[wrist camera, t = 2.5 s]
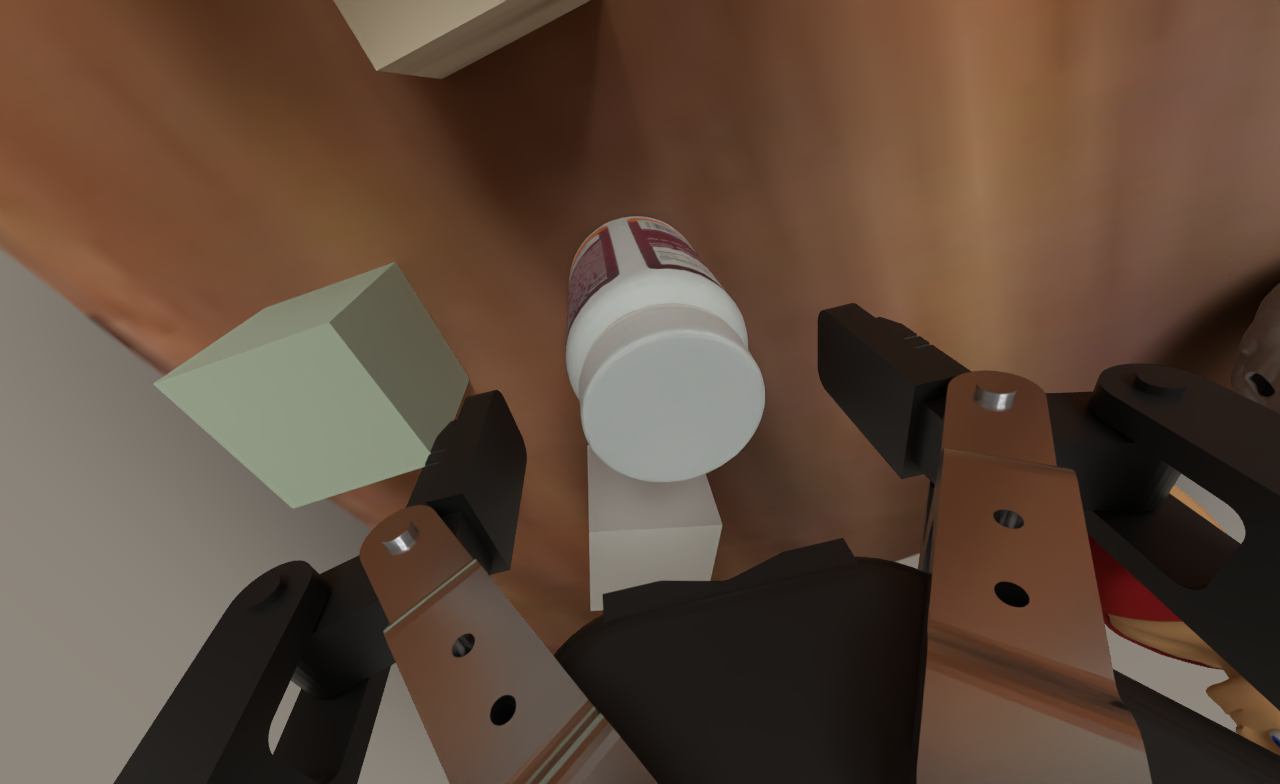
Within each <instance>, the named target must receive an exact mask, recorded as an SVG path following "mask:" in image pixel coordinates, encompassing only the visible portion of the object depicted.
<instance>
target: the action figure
mask: <svg viewBox="0 0 1280 784" xmlns="http://www.w3.org/2000/svg"><path fill="white" fill-rule="evenodd" d="M1169 493H1170V494H1171V495H1173V496H1174V497H1176V498H1177V499H1178V500H1180V501H1181V502H1183V503H1184V504H1185V505H1187V506H1188V507H1190V508H1191V509H1192V510H1194V511H1195V512H1197V513H1198V514H1199V515H1201V516H1202V517H1204V518H1205V519H1206V520H1208V521H1209V522H1211V523H1212V524H1213V525H1215V526H1216V527H1218V528H1219V529H1220V530H1222V531H1223V529H1222V528H1221V527H1220V526H1219V525H1218V523H1217V522H1216V521H1215V520H1214V519H1213V518H1212V517H1211V515H1210V514H1209V513H1208V512H1207V511H1206V510H1205V509H1204V508H1203V507H1201V506H1200V505H1199V504H1198V503H1197V502H1195V501H1194V500H1193V499H1192V498H1191V497H1189V496H1188V495H1187V494H1186V493H1184V492H1183V491H1182V490H1181V489H1179V488H1178V487H1177V486H1175V485H1174V486H1173V488H1172V489H1171V491H1170V492H1169ZM1223 532H1224V531H1223ZM1088 539H1089V544H1090V550H1091V555H1092V560H1093V566H1094V571H1095V576H1096V582H1097V587H1098V592H1099V598H1100V603H1101V609H1102V614H1103V619H1104V623H1105V624H1106V625H1107V626H1108V628H1109V629H1111V630H1112V631H1114V632H1115V633H1116V634H1118V635H1119V636H1121V637H1123V638H1125V639H1127V640H1129V641H1131V642H1133V643H1136V644H1138V645H1140V646H1142V647H1144V648H1147V649H1149V650H1152V651H1154V652H1156V653H1159V654H1161V655H1164V656H1167V657H1171V658H1174V659H1178V660H1181V661H1184V662H1188V663H1192V664H1196V665H1200V666H1204V667H1208V668H1215V669H1221V670H1224V671H1225V673H1226V674H1227V676H1228V677H1229V679H1228V680H1226V681H1224V682H1222V683H1218V684H1214V685H1212V686H1209V687H1208V688H1207V690H1206V692H1207V694H1208V696H1209V697H1210V698H1211V699H1212V700H1213V701H1214V702H1216V703H1217V704H1218V705H1219V706H1220V707H1221V708H1222V709H1223V710H1224V712H1225V713H1226V714H1228V715H1230V717H1231V718H1232V719H1233V720H1234V721H1235V723H1236V724H1237V727H1236V732H1237V733H1238V734H1239V735H1241V736H1243V737H1245V738H1247V739H1249V740H1251V741H1252V742H1254V743H1256V744H1258V745H1260V746H1262V747H1264V748H1266V749H1268V750H1270V751H1272V752H1274V753H1276V754H1277V755H1279V756H1280V711H1279V710H1278V709H1277V708H1276V707H1275V706H1274V705H1272V704H1271V703H1270V702H1269V701H1268V700H1267V699H1266V698H1265V697H1264V696H1263V695H1262V694H1261V693H1259V692H1258V691H1257V690H1256V689H1255V688H1254V687H1253V686H1252V685H1251V684H1250V683H1249V682H1248V681H1246V680H1245V679H1244V678H1243V677H1242V676H1241V675H1240V674H1239V673H1238V672H1237V671H1236V670H1235V669H1233V668H1232V667H1231V666H1230V665H1229V664H1228V663H1227V662H1226V661H1225V660H1224V659H1223V658H1222V657H1220V656H1219V655H1218V654H1217V653H1216V652H1215V651H1214V650H1213V649H1212V648H1211V647H1210V646H1209V645H1208V644H1206V643H1205V642H1204V641H1203V640H1202V639H1201V638H1200V637H1199V636H1198V635H1197V634H1196V633H1195V632H1193V631H1192V630H1191V629H1190V628H1189V627H1188V626H1187V625H1186V624H1185V623H1184V622H1183V621H1182V620H1180V619H1179V618H1178V617H1177V616H1176V615H1175V614H1174V613H1173V612H1172V611H1171V610H1170V609H1169V608H1167V607H1166V606H1165V605H1164V604H1163V603H1162V602H1161V601H1160V600H1159V599H1158V598H1157V597H1156V596H1154V595H1153V594H1152V593H1151V592H1150V591H1149V590H1148V589H1147V588H1146V587H1145V586H1144V585H1143V584H1141V583H1140V582H1139V581H1138V580H1137V579H1136V578H1135V577H1134V576H1133V575H1132V574H1131V573H1130V572H1128V571H1127V570H1126V569H1125V568H1124V567H1123V566H1122V565H1121V564H1120V563H1119V562H1118V561H1117V560H1115V559H1114V558H1113V557H1112V556H1111V555H1110V554H1109V553H1108V552H1107V551H1106V550H1105V549H1104V548H1102V547H1101V546H1100V545H1099V544H1098V543H1097V542H1096V541H1095V540H1094V539H1093V538H1092V537H1091V536H1089V535H1088Z"/></svg>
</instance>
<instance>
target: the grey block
mask: <svg viewBox="0 0 1280 784" xmlns="http://www.w3.org/2000/svg"><path fill="white" fill-rule="evenodd" d="M587 452H588V504H589V556H590V606H591V611H599V610H603V594H605V593H609V592H614V591H618V590H622V589H626V588H631V587H635V586H639V585H644V584H648V583H652V582H657V581H661V580H666V581H710V580H711V576H712V571H713V566H714V562H715V557H716V553H717V548H718V543H719V539H720V534H721V530H722V522H721V519H720V516H719V513H718V510H717V507H716V504H715V501H714V497H713V494H712V491H711V488H710V485H709V482H708V479H707V476H706V474H703V475H700V476H698V477H695V478H691V479H688V480H683V481H676V482H648V481H642V480H638V479H634V478H631V477H628V476H625V475H623V474H621V473H619V472H617V471H615V470H613V469H612V468H610V467H609V466H608V465H606V464H605V463H604V462H603V461H602V460H601V459H600V458H599V457H598V456H597V455H596V454H595V453H594V451H593V450H592V449H591V447H590V445H587Z"/></svg>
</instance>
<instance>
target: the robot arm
mask: <svg viewBox="0 0 1280 784" xmlns="http://www.w3.org/2000/svg"><path fill="white" fill-rule="evenodd" d="M818 373H819V377H820V380H821V383H822V385H823V387H824V389H825V390H826V391H827V392H828V394H829V395H830V396H831V397H832V398H833V399H834V401H835V402H836V403H837V404H838V405H839V406H840V408H841V409H842V410H843V411H844V412H845V413H846V415H847V416H848V417H849V418H850V419H851V421H852V422H853V423H854V424H855V425H856V426H857V428H858V429H859V430H860V431H861V432H862V433H863V435H864V436H865V437H866V438H867V439H868V440H869V442H870V443H871V444H872V445H873V446H874V447H875V449H876V450H877V451H878V452H879V453H880V454H881V456H882V457H883V458H884V459H885V460H886V462H887V463H888V464H889V465H890V466H891V467H892V469H893V470H894V471H895V472H896V473H897V474H898V476H899V477H900V478H901V479H904V478H909V477H913V476H917V475H921V474H925V475H926V476H927V477H928V478H929V480H930V482H929V487H928V492H927V500H926V508H925V517H924V525H923V533H922V541H921V550H920V558H919V565H918V569H915V568H913V567H910V566H906V565H903V564H900V563H897V562H892V561H888V560H883V559H878V558H868V557H854V555H853V554H852V552H851V550H850V549H849V547H848V545H847V544H846V542H845V540H844V539H843V538H841V539H837V540H833V541H828V542H824V543H820V544H815V545H811V546H807V547H802V548H798V549H794V550H790V551H785V552H782V553H780V554H778V555H776V556H775V557H773V558H771V559H769V560H767V561H765V562H763V563H761V564H759V565H757V566H755V567H753V568H751V569H749V570H747V571H745V572H743V573H741V574H739V575H737V576H736V577H734V578H731V579H729V580H725V581H666V580H661V581H657V582H652V583H648V584H644V585H639V586H635V587H631V588H626V589H622V590H618V591H614V592H609V593H605V594H603V615H601V616H599V617H597V618H595V619H594V620H592V621H591V622H589V623H588V624H586V625H585V626H583V627H582V628H581V629H580V630H578V631H577V632H576V633H575V634H573V635H572V636H571V637H570V638H569V639H568V640H567V641H566V642H565V643H564V644H563V645H562V646H561V647H560V648H559V649H558V650H557V652H556V653H555V654H554V655H552V654H551V652H550V651H549V650H548V649H547V647H546V646H545V645H544V644H543V642H542V641H541V640H540V639H539V637H538V636H537V635H536V634H535V632H534V631H533V630H532V629H531V627H530V626H529V625H528V624H527V622H526V621H525V620H524V619H523V617H522V616H521V615H520V614H519V612H518V611H517V610H516V609H515V607H514V606H513V605H512V604H511V602H510V601H509V600H508V599H507V597H506V596H505V595H504V594H503V592H502V591H501V590H500V589H499V587H498V586H497V585H496V584H495V582H494V581H493V580H492V579H491V577H490V575H491V574H495V573H499V572H503V571H507V570H510V567H511V560H512V554H513V547H514V540H515V534H516V527H517V521H518V514H519V508H520V501H521V495H522V488H523V482H524V475H525V469H526V462H527V454H526V448H525V444H524V440H523V438H522V435H521V433H520V431H519V429H518V427H517V425H516V423H515V420H514V418H513V416H512V414H511V412H510V410H509V408H508V405H507V403H506V401H505V399H504V397H503V395H502V394H501V392H500V391H498V390H494V391H490V392H486V393H482V394H478V395H473V396H469V397H467V398H466V399H465V401H464V404H463V407H462V409H461V412H460V414H459V417H458V419H457V420H454V421H451V422H450V423H449V424H448V425H447V426H446V427H445V428H444V429H443V430H442V431H441V432H440V434H439V435H438V436H437V437H436V440H435V442H434V444H433V446H432V449H431V451H430V452H431V454H430V455H429V456H428V458H427V460H426V463H425V467H423V469H422V472H421V474H420V476H419V479H418V481H417V483H416V485H415V488H414V490H413V492H412V495H411V497H410V499H409V502H408V504H407V506H406V508H404V509H402V510H399V511H397V512H395V513H394V514H392V515H390V516H389V517H387V518H386V519H384V520H383V521H382V522H380V523H379V524H378V525H377V526H376V527H375V528H374V529H373V530H372V531H371V532H370V533H369V535H368V536H367V537H366V539H365V541H364V542H363V544H362V546H361V549H360V555H359V556H357V557H355V558H353V559H351V560H349V561H347V562H344V563H342V564H340V565H338V566H336V567H334V568H332V569H330V570H328V571H326V572H324V573H322V574H319V573H318V572H317V571H316V570H314V569H313V568H312V567H311V566H310V565H309V564H308V563H307V562H305V561H291V562H287V563H285V564H281V565H279V566H277V567H275V568H273V569H271V570H269V571H267V572H266V573H264V574H262V575H261V576H259V577H258V578H257V579H255V580H254V581H253V582H251V583H250V584H249V585H248V586H247V587H246V588H244V590H242V591H241V592H240V593H239V594H238V595H237V597H236V598H235V599H234V600H233V601H232V603H231V604H230V605H229V607H228V608H227V610H226V611H225V613H224V614H223V616H222V617H221V619H220V620H219V622H218V624H217V625H216V627H215V628H214V630H213V631H212V633H211V634H210V636H209V637H208V639H207V640H206V642H205V644H204V645H203V647H202V648H201V650H200V651H199V653H198V654H197V656H196V658H195V659H194V660H193V662H192V664H191V665H190V667H189V668H188V670H187V671H186V673H185V674H184V676H183V678H182V679H181V681H180V682H179V684H178V685H177V687H176V688H175V690H174V691H173V693H172V695H171V696H170V697H169V699H168V700H167V702H166V704H165V705H164V707H163V708H162V710H161V711H160V713H159V714H158V716H157V717H156V719H155V720H154V722H153V724H152V725H151V727H150V728H149V730H148V731H147V733H146V734H145V736H144V737H143V739H142V740H141V742H140V744H139V745H138V747H137V748H136V750H135V752H134V753H133V754H132V756H131V757H130V759H129V761H128V762H127V764H126V765H125V767H124V768H123V770H122V772H121V773H120V774H119V776H118V777H117V779H116V781H115V782H114V784H357V782H358V779H359V775H360V772H361V768H362V765H363V762H364V758H365V755H366V751H367V747H368V744H369V740H370V737H371V734H372V730H373V727H374V723H375V719H376V716H377V713H378V709H379V706H380V702H381V698H382V695H383V692H384V688H385V684H386V681H387V678H388V674H389V671H390V667H391V665H392V664H394V663H396V664H397V666H398V668H399V670H400V673H401V675H402V677H403V679H404V682H405V684H406V686H407V688H408V691H409V693H410V695H411V697H412V700H413V702H414V704H415V706H416V709H417V711H418V713H419V715H420V718H421V720H422V722H423V724H424V727H425V729H426V731H427V734H428V736H429V738H430V740H431V742H432V744H433V747H434V749H435V751H436V754H437V756H438V758H439V760H440V763H441V765H442V767H443V769H444V772H445V774H446V776H447V778H448V780H449V783H450V784H1280V756H1279V755H1277V754H1276V753H1274V752H1272V751H1270V750H1268V749H1266V748H1264V747H1262V746H1260V745H1258V744H1256V743H1254V742H1252V741H1251V740H1249V739H1247V738H1245V737H1243V736H1241V735H1239V734H1237V733H1235V732H1233V731H1231V730H1229V729H1227V728H1226V727H1223V726H1222V725H1220V724H1218V723H1216V722H1214V721H1212V720H1210V719H1208V718H1206V717H1204V716H1202V715H1200V714H1199V713H1197V712H1195V711H1193V710H1191V709H1189V708H1187V707H1185V706H1183V705H1181V704H1179V703H1177V702H1175V701H1174V700H1172V699H1170V698H1168V697H1166V696H1164V695H1162V694H1160V693H1158V692H1156V691H1154V690H1152V689H1150V688H1148V687H1147V686H1145V685H1143V684H1141V683H1139V682H1137V681H1135V680H1133V679H1131V678H1129V677H1127V676H1125V675H1123V674H1122V673H1120V672H1118V671H1116V670H1114V669H1113V667H1112V663H1111V657H1110V652H1109V646H1108V641H1107V635H1106V630H1105V625H1104V619H1103V614H1102V609H1101V603H1100V598H1099V592H1098V587H1097V582H1096V576H1095V571H1094V566H1093V560H1092V555H1091V550H1090V544H1089V539H1088V535H1089V536H1091V537H1092V538H1093V539H1094V540H1095V541H1096V542H1097V543H1098V544H1099V545H1100V546H1101V547H1102V548H1104V549H1105V550H1106V551H1107V552H1108V553H1109V554H1110V555H1111V556H1112V557H1113V558H1114V559H1115V560H1117V561H1118V562H1119V563H1120V564H1121V565H1122V566H1123V567H1124V568H1125V569H1126V570H1127V571H1128V572H1130V573H1131V574H1132V575H1133V576H1134V577H1135V578H1136V579H1137V580H1138V581H1139V582H1140V583H1141V584H1143V585H1144V586H1145V587H1146V588H1147V589H1148V590H1149V591H1150V592H1151V593H1152V594H1153V595H1154V596H1156V597H1157V598H1158V599H1159V600H1160V601H1161V602H1162V603H1163V604H1164V605H1165V606H1166V607H1167V608H1169V609H1170V610H1171V611H1172V612H1173V613H1174V614H1175V615H1176V616H1177V617H1178V618H1179V619H1180V620H1182V621H1183V622H1184V623H1185V624H1186V625H1187V626H1188V627H1189V628H1190V629H1191V630H1192V631H1193V632H1195V633H1196V634H1197V635H1198V636H1199V637H1200V638H1201V639H1202V640H1203V641H1204V642H1205V643H1206V644H1208V645H1209V646H1210V647H1211V648H1212V649H1213V650H1214V651H1215V652H1216V653H1217V654H1218V655H1219V656H1220V657H1222V658H1223V659H1224V660H1225V661H1226V662H1227V663H1228V664H1229V665H1230V666H1231V667H1232V668H1233V669H1235V670H1236V671H1237V672H1238V673H1239V674H1240V675H1241V676H1242V677H1243V678H1244V679H1245V680H1246V681H1248V682H1249V683H1250V684H1251V685H1252V686H1253V687H1254V688H1255V689H1256V690H1257V691H1258V692H1259V693H1261V694H1262V695H1263V696H1264V697H1265V698H1266V699H1267V700H1268V701H1269V702H1270V703H1271V704H1272V705H1274V706H1275V707H1276V708H1277V709H1278V710H1279V711H1280V414H1279V413H1277V412H1275V411H1273V410H1271V409H1269V408H1267V407H1265V406H1263V405H1261V404H1258V403H1256V402H1254V401H1252V400H1250V399H1248V398H1246V397H1244V396H1242V395H1240V394H1237V393H1235V392H1233V391H1231V390H1229V389H1227V388H1225V387H1223V386H1221V385H1219V384H1216V383H1214V382H1212V381H1210V380H1208V379H1206V378H1204V377H1201V376H1199V375H1197V374H1194V373H1191V372H1188V371H1185V370H1181V369H1177V368H1173V367H1168V366H1161V365H1153V364H1124V365H1118V366H1114V367H1111V368H1108V369H1106V370H1104V371H1103V372H1102V373H1101V374H1100V376H1099V378H1098V381H1097V383H1096V386H1095V388H1094V390H1093V392H1073V393H1045V392H1044V391H1043V390H1042V389H1041V388H1040V387H1039V386H1038V385H1036V384H1035V383H1033V382H1032V381H1030V380H1028V379H1025V378H1023V377H1020V376H1017V375H1014V374H1010V373H1005V372H998V371H973V372H971V371H970V370H968V369H967V368H965V367H964V366H962V365H961V364H959V363H958V362H957V361H955V360H954V359H952V358H951V357H949V356H948V355H946V354H945V353H943V352H942V351H941V350H939V349H938V348H936V347H935V346H933V345H929V342H927V341H926V340H924V339H923V338H922V337H920V336H919V337H917V334H916V333H914V332H913V331H911V330H910V329H908V328H907V327H906V326H904V325H903V324H901V323H897V322H894V321H891V320H888V319H885V318H882V317H878V318H875V317H873V316H872V315H871V314H869V313H868V312H867V311H865V310H864V309H862V308H861V307H860V306H858V305H857V304H855V303H850V304H846V305H842V306H838V307H834V308H830V309H826V310H822V311H821V312H820V313H819V316H818ZM1181 473H1182V474H1183V475H1185V476H1186V477H1188V478H1189V479H1191V480H1192V481H1194V482H1195V483H1197V484H1198V485H1200V486H1201V487H1203V488H1204V489H1206V490H1207V491H1209V492H1210V493H1212V494H1213V495H1215V496H1216V497H1218V498H1219V499H1221V500H1222V501H1224V502H1225V503H1226V504H1228V505H1229V506H1230V507H1231V508H1233V509H1234V510H1235V511H1236V513H1237V514H1238V515H1239V516H1240V518H1241V520H1242V521H1243V524H1244V526H1245V530H1246V535H1245V539H1244V541H1243V542H1242V544H1240V543H1239V542H1237V541H1236V540H1234V539H1233V538H1232V537H1230V536H1229V535H1227V534H1226V533H1225V532H1223V531H1222V530H1220V529H1219V528H1218V527H1216V526H1215V525H1213V524H1212V523H1211V522H1209V521H1208V520H1206V519H1205V518H1204V517H1202V516H1201V515H1199V514H1198V513H1197V512H1195V511H1194V510H1192V509H1191V508H1190V507H1188V506H1187V505H1185V504H1184V503H1183V502H1181V501H1180V500H1178V499H1177V498H1176V497H1174V496H1173V495H1171V494H1170V493H1169V492H1170V491H1171V489H1172V488H1173V486H1174V484H1175V483H1176V481H1177V479H1178V477H1179V476H1180V474H1181ZM290 680H291V681H292V682H294V683H295V684H296V685H298V686H299V687H300V688H301V691H300V693H299V696H298V698H297V700H296V702H295V705H294V707H293V710H292V712H291V714H290V716H289V719H288V721H287V723H286V726H285V728H284V730H283V733H282V735H281V737H280V740H279V742H278V744H277V747H276V749H275V751H274V754H273V755H272V754H271V751H270V748H269V743H268V735H269V729H270V725H271V722H272V720H273V717H274V715H275V713H276V711H277V709H278V706H279V704H280V702H281V700H282V698H283V695H284V693H285V691H286V689H287V687H288V684H289V682H290Z"/></svg>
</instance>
